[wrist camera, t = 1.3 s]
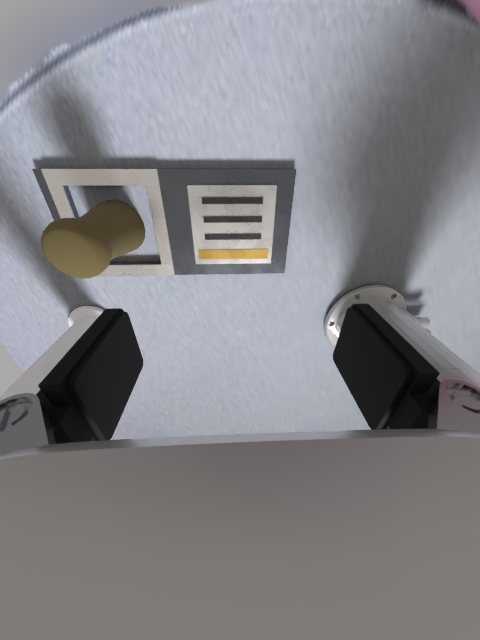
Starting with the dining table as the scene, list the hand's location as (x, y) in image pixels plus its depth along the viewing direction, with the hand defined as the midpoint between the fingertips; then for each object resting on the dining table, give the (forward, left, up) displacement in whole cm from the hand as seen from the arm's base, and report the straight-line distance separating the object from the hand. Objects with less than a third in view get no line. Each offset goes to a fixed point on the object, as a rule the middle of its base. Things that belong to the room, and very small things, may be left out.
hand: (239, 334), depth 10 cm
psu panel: (+7, 0, -22) cm, 23 cm away
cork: (+14, 0, -22) cm, 27 cm away
